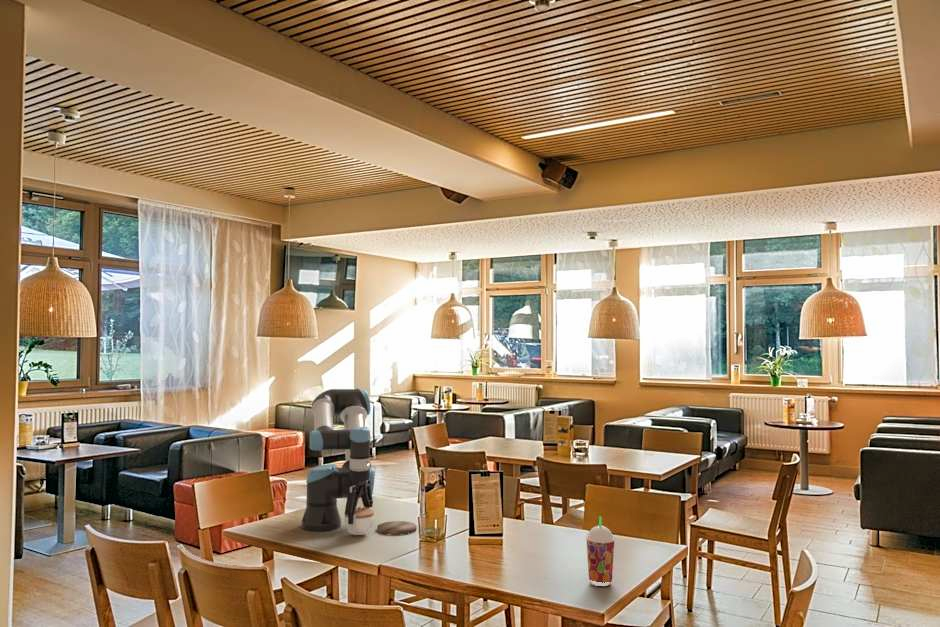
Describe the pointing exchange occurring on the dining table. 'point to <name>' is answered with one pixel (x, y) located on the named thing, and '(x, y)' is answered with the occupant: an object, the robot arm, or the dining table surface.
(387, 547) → the dining table surface
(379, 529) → the stand
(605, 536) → the smoothie
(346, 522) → the lidded jar
